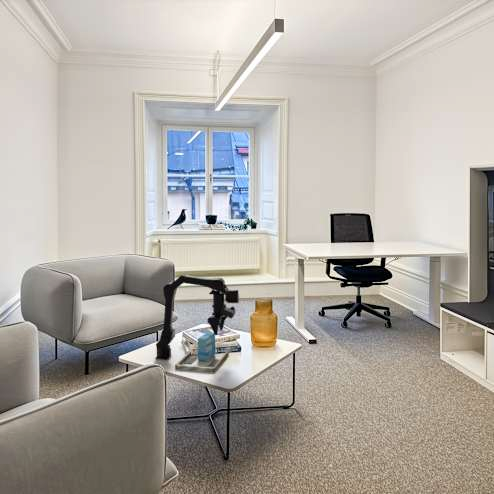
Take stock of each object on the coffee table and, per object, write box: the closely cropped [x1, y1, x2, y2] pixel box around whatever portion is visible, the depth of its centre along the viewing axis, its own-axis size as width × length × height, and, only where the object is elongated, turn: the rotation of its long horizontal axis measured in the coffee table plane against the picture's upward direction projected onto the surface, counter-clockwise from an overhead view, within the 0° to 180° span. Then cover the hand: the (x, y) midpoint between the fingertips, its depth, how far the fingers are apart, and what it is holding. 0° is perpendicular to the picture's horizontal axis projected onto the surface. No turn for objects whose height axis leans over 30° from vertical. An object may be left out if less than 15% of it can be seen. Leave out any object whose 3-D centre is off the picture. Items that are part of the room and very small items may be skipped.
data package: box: [197, 332, 216, 362], centre depth 245 cm, size 12×4×12 cm, turn 159°
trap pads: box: [183, 356, 220, 367], centre depth 239 cm, size 17×9×1 cm, turn 77°
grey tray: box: [174, 350, 229, 374], centre depth 239 cm, size 20×26×2 cm
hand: (218, 332), depth 242 cm, fingers open, 9 cm apart
